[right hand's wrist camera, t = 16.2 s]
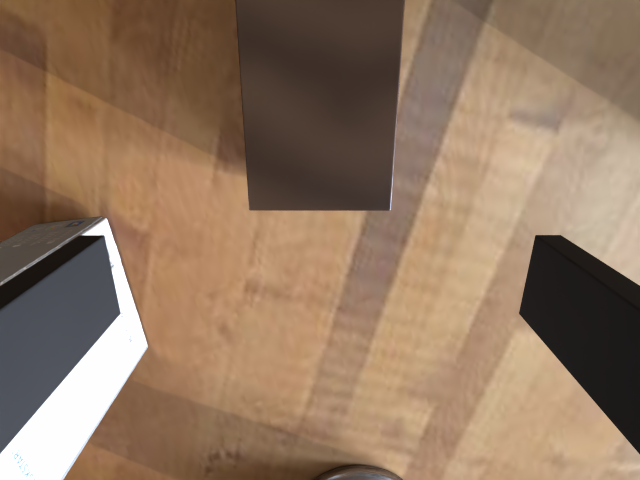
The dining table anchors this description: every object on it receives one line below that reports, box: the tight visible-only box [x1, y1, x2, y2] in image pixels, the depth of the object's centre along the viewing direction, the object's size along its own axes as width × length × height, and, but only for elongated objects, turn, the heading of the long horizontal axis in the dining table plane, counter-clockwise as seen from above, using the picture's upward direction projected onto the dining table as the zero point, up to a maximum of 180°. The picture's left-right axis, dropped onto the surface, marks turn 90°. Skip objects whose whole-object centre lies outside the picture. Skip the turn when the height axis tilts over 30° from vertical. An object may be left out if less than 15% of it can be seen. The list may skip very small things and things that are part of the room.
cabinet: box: [235, 0, 405, 211], centre depth 30 cm, size 20×10×9 cm, turn 0°
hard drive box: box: [0, 217, 148, 480], centre depth 32 cm, size 16×8×20 cm, turn 7°
